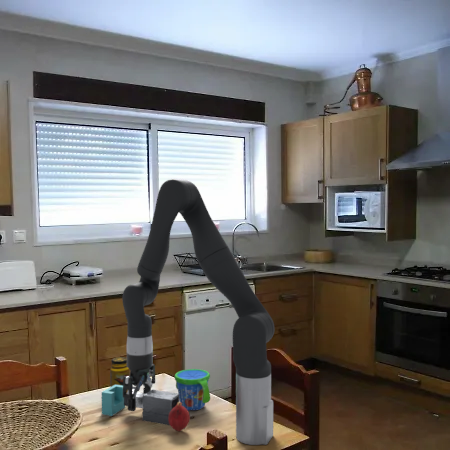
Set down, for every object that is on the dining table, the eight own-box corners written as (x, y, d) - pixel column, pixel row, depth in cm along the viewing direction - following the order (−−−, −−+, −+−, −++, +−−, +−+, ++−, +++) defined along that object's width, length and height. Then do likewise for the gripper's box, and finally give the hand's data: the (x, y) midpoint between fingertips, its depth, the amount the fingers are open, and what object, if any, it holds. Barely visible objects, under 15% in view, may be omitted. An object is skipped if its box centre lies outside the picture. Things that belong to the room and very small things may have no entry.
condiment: (126, 400, 160) (125, 362, 160) (100, 398, 162) (100, 361, 161) (133, 391, 168) (133, 356, 167) (109, 390, 169) (109, 354, 168)
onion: (186, 437, 134) (186, 407, 134) (165, 435, 135) (165, 405, 135) (192, 427, 140) (192, 399, 139) (172, 426, 141) (172, 397, 141)
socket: (125, 407, 154) (124, 385, 154) (111, 416, 148) (111, 393, 148) (115, 405, 156) (115, 384, 155) (101, 414, 149) (101, 392, 149)
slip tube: (171, 408, 146) (171, 397, 146) (166, 412, 143) (166, 401, 143) (130, 401, 151) (130, 390, 151) (124, 405, 148) (123, 394, 148)
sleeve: (180, 417, 147) (179, 393, 147) (170, 425, 141) (170, 400, 141) (152, 412, 150) (152, 389, 150) (142, 420, 145) (142, 396, 144)
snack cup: (166, 401, 159) (166, 369, 158) (196, 395, 164) (195, 364, 164) (188, 419, 145) (188, 384, 145) (220, 412, 151) (220, 378, 150)
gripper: (137, 358, 140) (137, 416, 140) (162, 345, 153) (162, 398, 153) (114, 355, 142) (115, 412, 143) (141, 343, 156) (141, 395, 156)
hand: (139, 405), depth 148 cm, fingers open, 8 cm apart
